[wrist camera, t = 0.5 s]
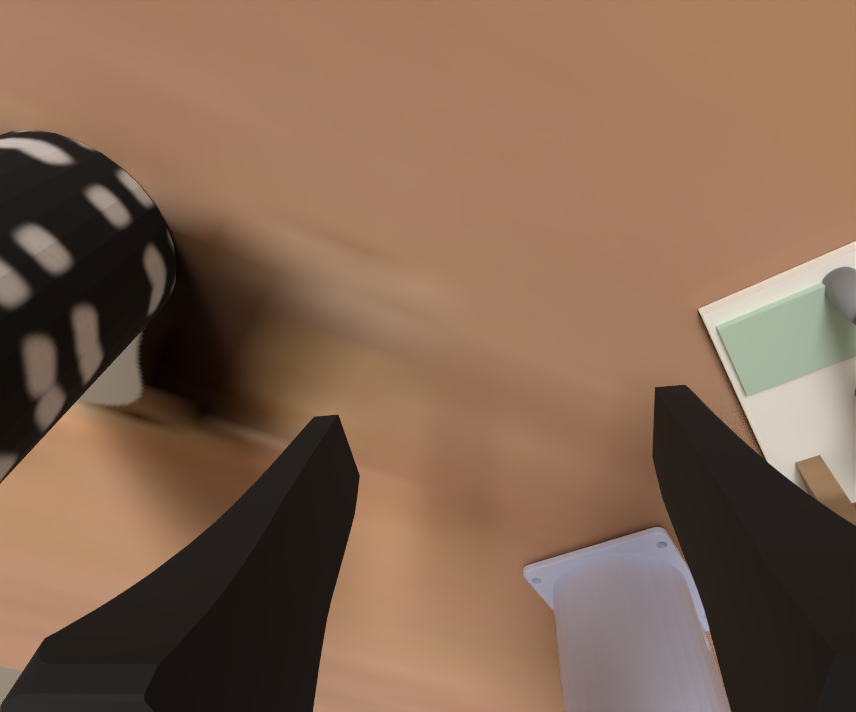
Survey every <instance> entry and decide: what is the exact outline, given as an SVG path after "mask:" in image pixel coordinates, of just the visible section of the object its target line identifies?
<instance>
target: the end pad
mask: <svg viewBox="0 0 856 712" xmlns="http://www.w3.org/2000/svg"><path fill="white" fill-rule="evenodd" d="M855 270H856V268H855ZM716 328H717V330H718V332H719V334H720V337H721V339H722V341H723V343H724V346H725V348H726V350H727V353H728V355H729V357H730V359H731V362H732V364H733V366H734V368H735V371H736V373H737V375H738V377H739V380H740V382H741V384H742V387H743V389H744V391H745V393H746V395H747V396H749V395H751V394H754V393H757V392H760V391H762V390H765V389H768V388H771V387H773V386H776V385H779V384H782V383H784V382H787V381H790V380H793V379H795V378H798V377H801V376H804V375H806V374H809V373H812V372H815V371H817V370H820V369H823V368H826V367H828V366H831V365H834V364H837V363H839V362H842V361H845V360H848V359H850V358H853V357H856V325H855V324H853V323H852V322H851V321H850V320H849V319H848V318H847V317H846V316H845V315H844V314H843V313H842V312H841V311H840V310H839V309H838V308H837V307H836V306H835V305H834V304H833V303H832V302H831V301H830V300H829V299H828V298H827V296H826V295H825V285H824V284H823V283H822V282H821V283H819V284H816V285H814V286H811V287H809V288H807V289H804V290H802V291H799V292H797V293H795V294H792V295H790V296H787V297H785V298H783V299H780V300H778V301H775V302H773V303H771V304H768V305H766V306H763V307H761V308H758V309H756V310H754V311H751V312H749V313H746V314H744V315H742V316H739V317H737V318H734V319H732V320H730V321H727V322H725V323H722V324H720V325H718V326H716Z"/></svg>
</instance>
